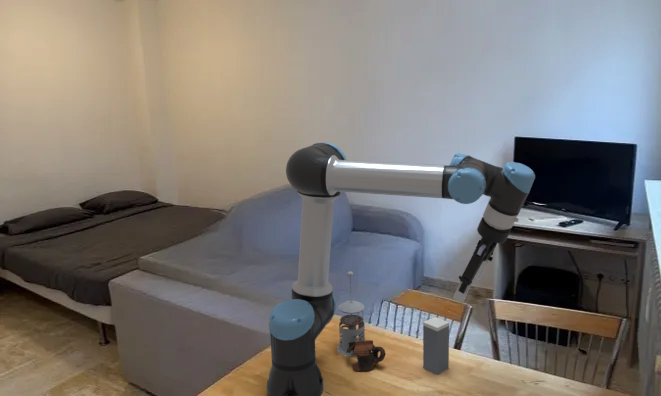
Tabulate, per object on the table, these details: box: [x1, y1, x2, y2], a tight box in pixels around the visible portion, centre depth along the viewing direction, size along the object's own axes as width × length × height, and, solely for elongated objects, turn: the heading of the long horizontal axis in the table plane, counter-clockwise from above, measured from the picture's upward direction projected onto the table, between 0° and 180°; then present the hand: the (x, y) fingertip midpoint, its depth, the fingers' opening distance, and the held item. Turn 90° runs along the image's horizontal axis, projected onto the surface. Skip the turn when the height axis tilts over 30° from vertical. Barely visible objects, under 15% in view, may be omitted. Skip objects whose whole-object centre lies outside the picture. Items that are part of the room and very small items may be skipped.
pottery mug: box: [346, 339, 386, 372], centre depth 154 cm, size 12×10×8 cm
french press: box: [336, 271, 366, 357], centre depth 162 cm, size 10×12×25 cm
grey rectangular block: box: [422, 316, 450, 376], centre depth 150 cm, size 5×5×14 cm
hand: (466, 288), depth 142 cm, fingers open, 13 cm apart
